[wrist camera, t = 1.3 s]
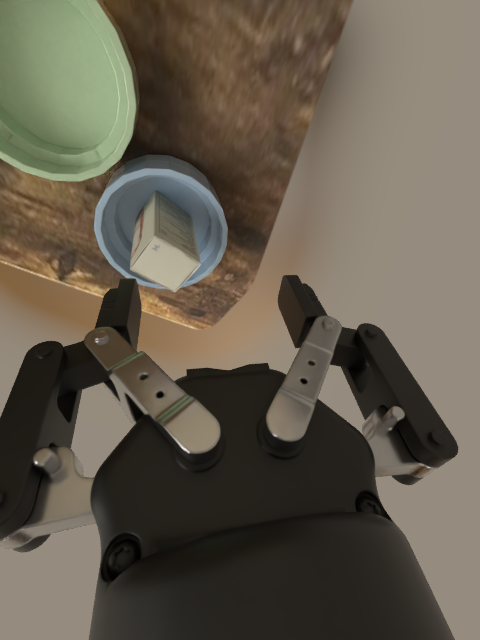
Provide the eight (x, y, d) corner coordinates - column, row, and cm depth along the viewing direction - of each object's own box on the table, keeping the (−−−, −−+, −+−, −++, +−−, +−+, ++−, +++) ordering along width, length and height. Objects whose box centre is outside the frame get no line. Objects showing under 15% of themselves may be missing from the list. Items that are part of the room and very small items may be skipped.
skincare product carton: (134, 219, 32) (125, 268, 25) (155, 188, 30) (152, 231, 23) (172, 245, 35) (174, 295, 28) (194, 218, 33) (202, 264, 26)
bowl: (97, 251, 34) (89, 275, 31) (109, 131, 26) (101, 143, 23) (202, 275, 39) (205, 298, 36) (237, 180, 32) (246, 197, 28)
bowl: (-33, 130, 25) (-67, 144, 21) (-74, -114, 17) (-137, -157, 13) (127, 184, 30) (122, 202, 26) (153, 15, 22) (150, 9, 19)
